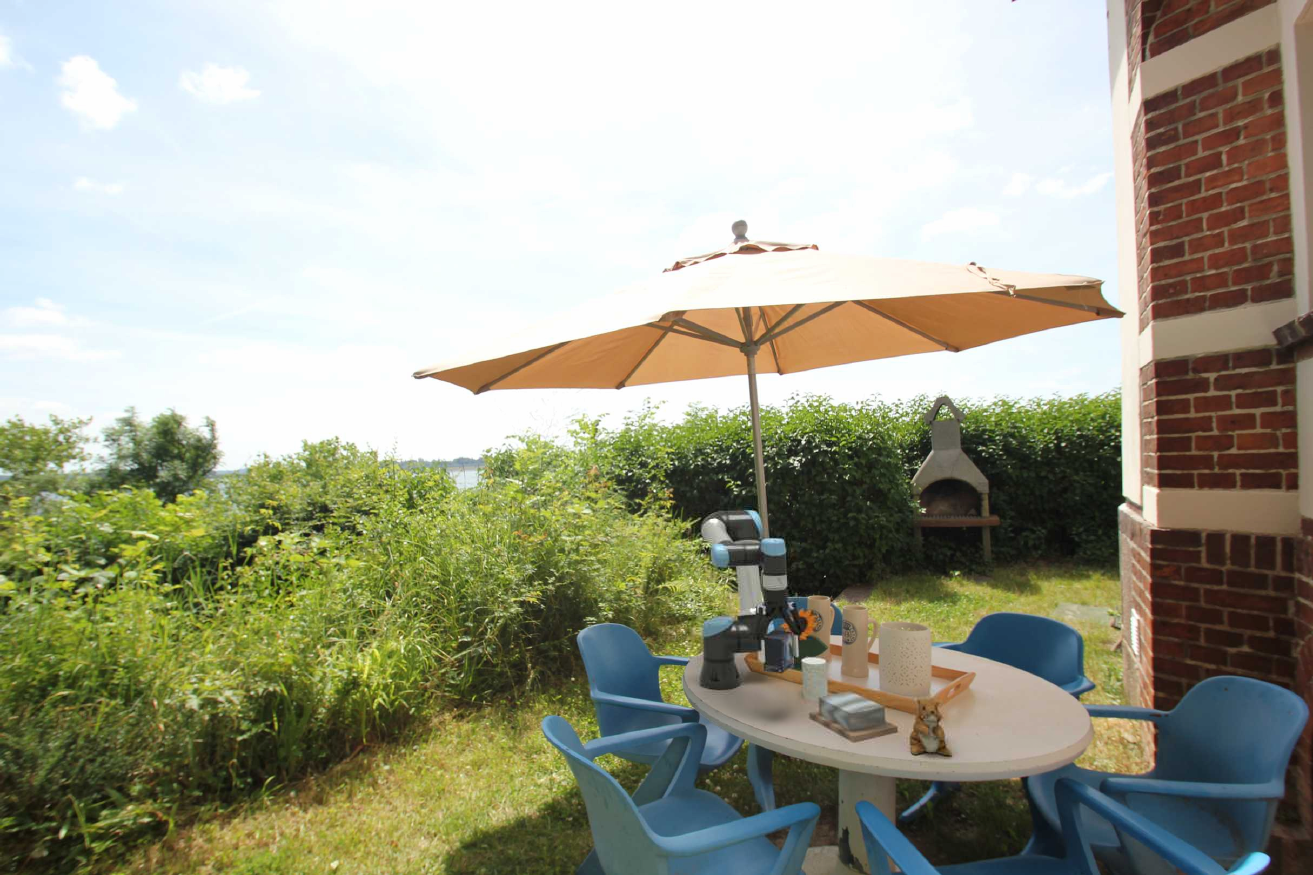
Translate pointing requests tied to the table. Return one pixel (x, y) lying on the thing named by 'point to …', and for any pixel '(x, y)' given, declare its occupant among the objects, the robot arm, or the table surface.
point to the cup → (814, 678)
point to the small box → (778, 651)
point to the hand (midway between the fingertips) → (778, 658)
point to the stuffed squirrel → (928, 729)
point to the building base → (854, 734)
